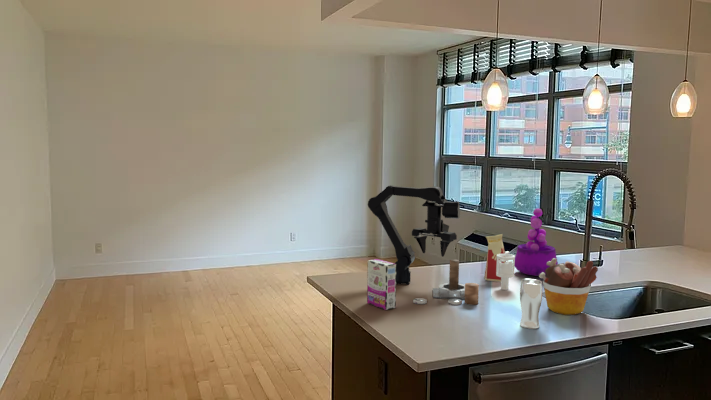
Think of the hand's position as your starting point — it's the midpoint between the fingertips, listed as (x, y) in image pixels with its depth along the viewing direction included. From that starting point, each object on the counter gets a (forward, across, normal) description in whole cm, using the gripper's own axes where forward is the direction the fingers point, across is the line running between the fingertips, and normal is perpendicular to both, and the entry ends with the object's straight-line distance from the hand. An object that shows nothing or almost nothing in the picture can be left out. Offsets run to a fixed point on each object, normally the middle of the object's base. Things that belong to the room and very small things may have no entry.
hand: (433, 254), depth 230 cm
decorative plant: (+13, -23, -47) cm, 54 cm away
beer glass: (+13, -51, +19) cm, 56 cm away
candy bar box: (+13, -2, +36) cm, 38 cm away
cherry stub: (+13, -24, +10) cm, 29 cm away
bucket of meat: (+13, -54, -5) cm, 56 cm away
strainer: (+13, -24, -16) cm, 32 cm away
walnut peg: (+12, -13, +5) cm, 19 cm away
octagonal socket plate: (+13, -13, +5) cm, 19 cm away
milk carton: (+13, -14, -28) cm, 34 cm away
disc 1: (+13, -10, +23) cm, 28 cm away
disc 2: (+13, -20, +14) cm, 28 cm away
